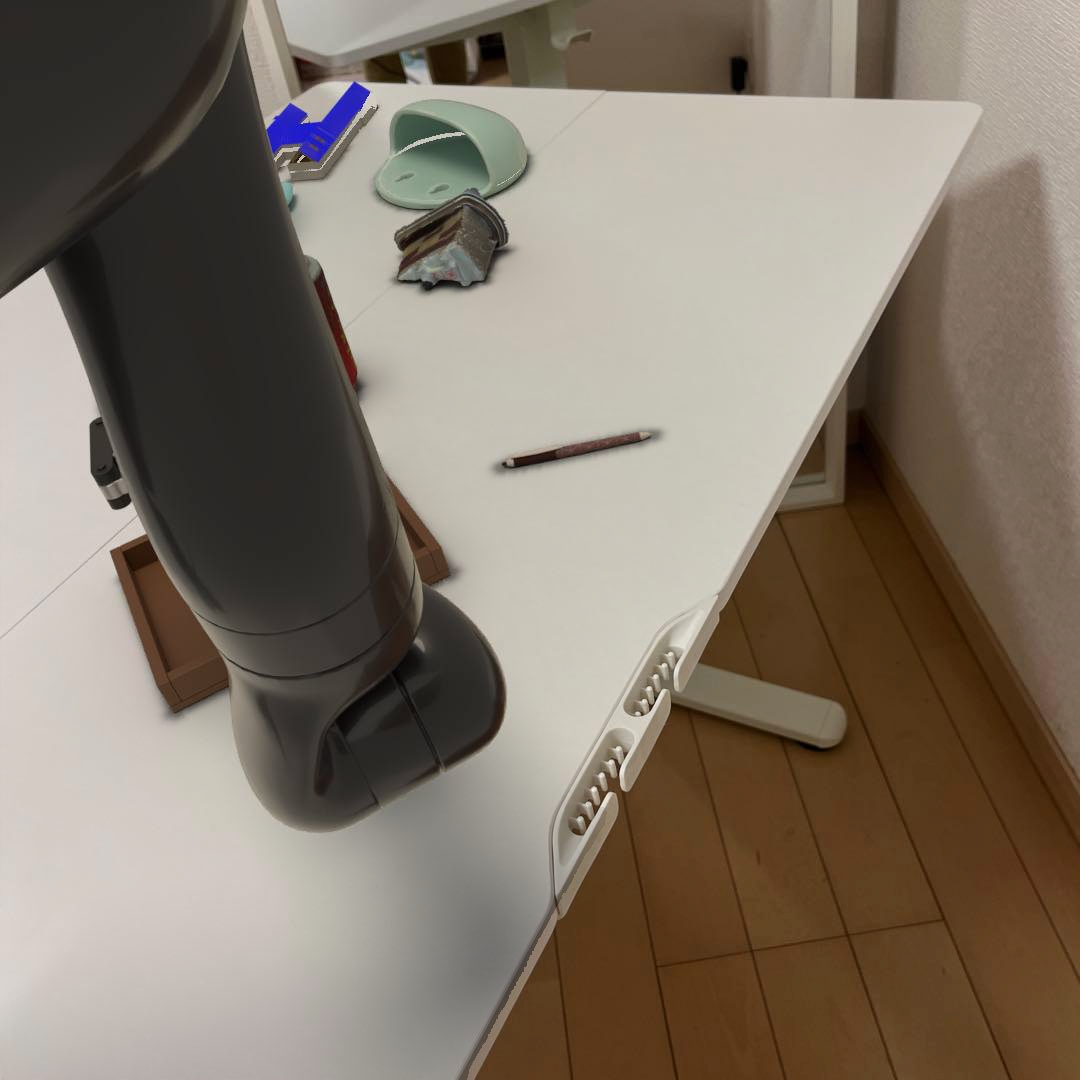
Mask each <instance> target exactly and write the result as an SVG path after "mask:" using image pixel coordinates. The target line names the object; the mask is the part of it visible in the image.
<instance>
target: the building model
mask: <svg viewBox="0 0 1080 1080" xmlns="http://www.w3.org/2000/svg"><path fill="white" fill-rule="evenodd" d="M370 92H372V91H371V90H370V89H367V88H366V87H365V86H363V85H361V84H360V83H358V82H357V81H355V80H354V81H353V82H352V83H351V84H350V86H349V87H348V88H347V90H346V91H345V92H344V93H343V94H342V96H341V97H340V98H339V99H338V100H337V102H336V103H335V104H334V105H333V106H332V108H331V109H330V111H328V113H327V114H326V115H325V116H324V118H323V119H322V120H321V121H314V122H310V120H309V122H308V123H303V124H301V123H302V122H303V121H304V120H305V119H306V118H307V117H308V118H309V115H308V113H307V112H306V111H304V110H303V109H301V108H299V107H298V106H296V105H295V104H293V103H292V102H289V103H288V105H286V107H285V108H284V109H283V110H282V111H281V112H280V113H279V115H275V116H274V117H273V118H272V119H271V120H272V122H271V124H270V125H269V126H268V127H266V130H267V134H268V137H269V141H270V145H271V149H272V152H273V156H274V158H275V157H276V156H277V154H278V153H279V151H280V150H281V149H282V148H293V147H300V148H299V149H298V151H293V152H283V153H282V155H281V156H280V157H279V158H278V159H277V161H276V162H275V164H276V167H277V171H279V170H280V168H281V167H282V166H283V165H284V163H285V162H286V161H289V162H288V163H287V164H286V166H287V169H288V172H289V175H290V178H291V181H292V182H296V181H308V180H318V179H319V180H320V179H324V178H325V176H326V175H327V174H328V173H329V172H330V170H331V169H332V168H333V166H334V165H335V163H336V162H337V161H338V159H339V158H340V157H341V155H342V154H343V153H344V151H345V150H346V149H347V147H348V146H349V145H350V144H351V142H352V141H353V140H354V138H355V137H356V135H357V134H358V133H359V132H360V131H361V129H362V128H363V126H366V125H367V124H368V122H369V121H370V119H372V117H373V115H374V114H375V112H376V111H377V110H378V109H377V108H376V109H377V110H375V109H373V108H375V107H373V106H371V107H372V108H370V109H369V110H368V111H367V113H366V114H365V115H364V117H363V118H360V119H359V121H358V122H357V123H356V125H355V126H354V127H353V128H352V130H351V131H350V132H349V134H348V135H347V136H346V138H345V139H344V140H343V142H342V143H341V144H340V145H339V147H338V148H337V149H336V151H335V152H334V153H333V155H332V156H331V157H330V159H329V160H328V161H327V162H326V164H325V165H324V166H323V168H322V169H321V170H317V171H306V172H295V173H290V171H299V170H306V169H307V170H309V169H310V170H311V169H320V168H321V167H322V165H323V164H324V162H325V161H326V160H327V158H328V157H329V156H330V154H331V153H332V151H333V150H334V148H335V147H336V145H337V144H338V143H339V141H340V140H341V138H342V137H343V135H344V134H345V132H346V131H347V129H348V128H349V126H350V125H351V124H352V121H353V120H354V119H355V117H356V115H357V114H358V112H360V111H361V109H362V107H363V104H364V103H365V101H366V99H367V97H368V96H369V94H370ZM302 155H304V156H305V157H304V158H303V159H302V160H301V161H300V163H297V161H298V160H299V158H300V157H301V156H302Z"/></svg>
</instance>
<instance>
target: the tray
mask: <svg viewBox="0 0 1080 1080" xmlns="http://www.w3.org/2000/svg"><path fill="white" fill-rule="evenodd" d="M384 472H385V474H386V477H387V480H388V482H389V485H390V488H391V490H392V493H393V496H394V499H395V503H396V506H397V509H398V512H399V515H400V518H401V521H402V524H403V527H404V530H405V533H406V536H407V539H408V542H409V545H410V548H411V550H412V553H413V556H414V559H415V562H416V565H417V568H418V572H419V575H420V579H421V581H422V582H424V583H425V584H427V585H428V586H431V585H433V584H435V583H436V582H439V581H441V580H442V579H445V578H447V577H448V576H451V572H450V569H449V566H448V562H447V559H446V557H445V555H444V551H443V547H442V546H441V544H440V543H439V542H438V540H437V539H436V538H435V536H434V535H433V533H432V532H431V531H430V529H428V527H427V526H426V524H425V523H424V522H423V520H422V519H421V518H420V516H419V515H418V514H417V512H416V511H415V510H414V508H413V507H412V505H410V503H409V502H408V500H407V499H406V498H405V496H404V495H403V494H402V492H401V491H400V490H399V488H397V486H396V484H395V483H394V482H393V480H392V479H391V478H390V477H389V475H388V474H387V472H386V471H385V470H384ZM109 555H110V558H111V561H112V563H113V566H114V568H115V571H116V574H117V577H118V580H119V583H120V586H121V588H122V591H123V594H124V597H125V599H126V602H127V605H128V608H129V611H130V614H131V616H132V617H131V618H132V619H133V623H134V625H135V628H136V631H137V634H138V636H139V637H138V638H139V639H140V642H141V645H142V648H143V651H144V654H145V657H146V660H147V663H148V665H149V668H150V671H151V674H152V677H153V680H154V683H155V685H156V688H157V690H158V691H159V692H160V694H161V696H162V697H163V699H164V700H165V702H166V703H167V705H168V706H169V708H170V710H171V711H172V712H173V713H174V714H175V713H177V712H179V711H181V710H183V709H185V708H187V707H189V706H191V705H193V704H195V703H197V702H199V701H200V700H203V699H205V698H207V697H209V696H211V695H213V694H215V693H217V692H218V691H221V690H223V689H225V688H227V687H229V677H228V672H227V667H226V665H225V663H224V661H223V659H222V657H221V655H220V653H219V652H218V650H217V648H216V647H215V645H214V643H213V642H212V640H211V639H210V637H209V636H208V634H207V633H206V631H205V630H204V628H203V627H202V626H201V624H200V623H199V621H198V620H197V618H196V617H195V615H194V614H193V612H192V611H191V609H190V608H189V606H188V605H187V603H186V602H185V600H184V599H183V598H182V596H181V595H180V593H179V592H178V590H177V589H176V587H175V586H174V584H173V582H172V581H171V579H170V578H169V576H168V574H167V572H166V571H165V569H164V567H163V565H162V564H161V562H160V560H159V558H158V556H157V554H156V552H155V550H154V548H153V546H152V544H151V542H150V540H149V538H148V536H147V534H146V533H145V534H142V535H140V536H138V537H136V538H133V539H132V540H129V541H127V542H125V543H123V544H120V545H119V546H117V547H114V548H112V549H110V550H109Z"/></svg>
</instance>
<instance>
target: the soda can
mask: <svg viewBox="0 0 1080 1080" xmlns="http://www.w3.org/2000/svg"><path fill="white" fill-rule="evenodd" d="M304 257H305V260H306V263H307V266H308V269H309V272H310V274H311V277H312V280H313V283H314V286H315V288H316V291H317V294H318V296H319V299H320V302H321V305H322V307H323V310H324V313H325V316H326V318H327V321H328V324H329V326H330V329H331V332H332V334H333V337H334V340H335V342H336V345H337V347H338V350H339V353H340V355H341V358H342V360H343V363H344V366H345V368H346V371H347V373H348V376H349V379H350V381H351V384H352V386H353V389H354V392H355V393H356V382H357V378H358V367H357V364H356V361H355V358H354V355H353V353H352V350H351V346H350V345H349V342H348V339H347V338H348V337H347V336H346V332H345V330H344V327H343V324H342V321H341V318H340V314H339V312H338V310H337V308H336V304H335V302H334V298H333V296H332V293H331V290H330V286H329V284H328V281H327V279H326V276H325V272H324V269H323V267H322V265H321V263H320V261H318V259H316V258H314V257H312V255H308V254H304Z"/></svg>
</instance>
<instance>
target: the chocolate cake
mask: <svg viewBox="0 0 1080 1080" xmlns="http://www.w3.org/2000/svg"><path fill="white" fill-rule="evenodd" d="M506 225H507V224H506V220H505V219H504V218H503V217H502V216H501V215H500V214H499V212H498V210H497V209H496V208H495V207H494V206H493V205H492V204H491V203H490V202H488V201H486V200H485V198H483V199H482V197H481V194H480V193H479V192H478V189H476V188H471V189H470V190H469V189H468V188H467V190H465V191H464V192H463V193H461V194H459V195H458V196H455V197H454V198H452V199H449V200H448V201H446V202H444V203H443V204H441V205H440V206H437V207H436V208H435V209H431V210H430V211H428V212H427V213H426V214H423V215H422V216H419V217H418V218H416V219H414V220H413V221H412V222H411V223H410V224H407V225H403V226H401V227H400V228H399V229H396V230H395V233H393V241H394V243H395V245H396V246H397V249H398V250H399V251H400V252H402V260H401V261H400V264H399V266H398V271H397V275H396V280H399V281H404V280H406V281H419V280H421V282H422V284H421V285H422V287H423V288H424V289H426V290H427V289H431V288H432V287H433V286H435V285H436V284H437V283H438V282H439V281H441V280H444V281H455V282H459V283H460V285H461V286H462V287H469V286H470V285H472V282H477V281H478V282H479V281H484V280H485V279H486V276H487V274H488V268H489V266H490V264H491V260H492V256H493V254H494V252H495V250H497V249H500V248H503V247H505V246H506V245H507V244H508V242H509V240H510V238H509V236H510V233H509V230H508V227H507V226H506Z"/></svg>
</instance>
